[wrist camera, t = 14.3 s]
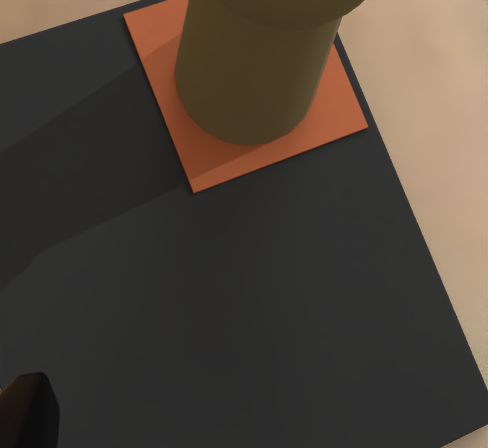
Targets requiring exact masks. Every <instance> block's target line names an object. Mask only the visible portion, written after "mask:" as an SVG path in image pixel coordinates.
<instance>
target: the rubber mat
mask: <svg viewBox="0 0 488 448" xmlns="http://www.w3.org/2000/svg"><path fill="white" fill-rule="evenodd" d="M188 1H189V0H140V1H137V2H134V3H130V4H127V5H124V6H121V7H118V8H114V9H111V10H108V11H105V12H102V13H98V14H95V15H92V16H89V17H86V18H83V19H79V20H76V21H73V22H70V23H67V24H63V25H60V26H57V27H54V28H51V29H47V30H44V31H41V32H38V33H35V34H31V35H28V36H25V37H22V38H19V39H15V40H12V41H9V42H6V43H3V44H0V387H1V389H2V392H3V390H4V389H5V388H6V387H7V386H8V385H9V384H10V383H11V382H12V380H13V379H14V378H16V377H17V376H19V375H22V374H28V373H35V372H44V373H45V374H46V375H47V376H48V378H49V381H50V384H51V386H52V389H53V391H54V394H55V396H56V399H57V401H58V404H59V409H60V423H59V434H58V445H57V448H440V447H442V446H444V445H447V444H449V443H451V442H453V441H455V440H457V439H459V438H461V437H463V436H465V435H467V434H469V433H471V432H473V431H475V430H477V429H479V428H481V427H483V426H485V425H487V424H488V390H487V387H486V385H485V383H484V380H483V378H482V376H481V373H480V371H479V368H478V366H477V364H476V361H475V359H474V356H473V354H472V352H471V349H470V347H469V345H468V342H467V340H466V337H465V335H464V333H463V330H462V328H461V325H460V323H459V321H458V318H457V316H456V314H455V311H454V309H453V306H452V304H451V302H450V299H449V297H448V295H447V292H446V290H445V287H444V285H443V283H442V280H441V278H440V275H439V273H438V271H437V268H436V266H435V264H434V261H433V259H432V256H431V254H430V252H429V249H428V247H427V244H426V242H425V240H424V237H423V235H422V233H421V230H420V228H419V225H418V223H417V221H416V218H415V216H414V213H413V211H412V209H411V206H410V204H409V202H408V199H407V197H406V194H405V192H404V190H403V187H402V185H401V183H400V180H399V178H398V175H397V173H396V171H395V168H394V166H393V163H392V161H391V159H390V156H389V154H388V152H387V149H386V147H385V144H384V142H383V140H382V137H381V135H380V132H379V130H378V128H377V125H376V123H375V121H374V118H373V116H372V113H371V111H370V109H369V106H368V104H367V101H366V99H365V97H364V94H363V92H362V90H361V87H360V85H359V82H358V80H357V78H356V75H355V73H354V71H353V68H352V66H351V63H350V61H349V59H348V56H347V54H346V51H345V49H344V47H343V44H342V42H341V40H340V37H339V35H338V32H337V33H336V36H335V39H334V42H333V45H332V48H331V51H330V54H329V57H328V60H327V63H326V66H325V69H324V71H323V74H322V77H321V80H320V83H319V86H318V89H317V92H316V95H315V98H314V100H313V102H312V104H311V106H310V108H309V110H308V112H307V114H306V116H305V118H304V119H303V120H302V121H301V122H300V123H299V124H298V125H297V126H296V127H295V128H294V129H293V130H292V131H291V132H290V133H289V134H287V135H285V136H283V137H280V138H278V139H276V140H274V141H272V142H270V143H264V144H257V145H250V146H246V145H240V144H234V143H228V142H224V141H222V140H220V139H218V138H216V137H215V136H213V135H211V134H209V133H207V132H205V131H204V130H203V129H202V128H201V127H200V126H199V125H198V124H197V123H196V122H195V121H194V120H193V119H192V118H191V117H189V116H188V114H187V112H186V110H185V108H184V106H183V104H182V102H181V101H180V99H179V97H178V94H177V88H176V82H175V76H174V70H175V64H176V58H177V52H178V47H179V43H180V38H181V33H182V29H183V24H184V20H185V15H186V10H187V6H188Z"/></svg>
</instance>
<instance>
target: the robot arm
mask: <svg viewBox="0 0 488 448" xmlns="http://www.w3.org/2000/svg"><path fill="white" fill-rule="evenodd" d="M59 423H60V409H59V404H58V401H57V399H56V396H55V394H54V391H53V389H52V386H51V384H50V381H49V378H48V376H47V375H46V374H45V373H44V372H35V373H28V374H22V375H19V376H17V377H16V378H14V379H13V380H12V382H11V383H10V384H9V385H8V386H7V387H6V388H5V389H4V390H3V392H2V393H1V394H0V448H57V445H58V434H59Z"/></svg>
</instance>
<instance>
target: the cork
mask: <svg viewBox="0 0 488 448" xmlns="http://www.w3.org/2000/svg"><path fill="white" fill-rule="evenodd" d="M363 1H364V0H189V1H188V6H187V10H186V15H185V20H184V24H183V29H182V33H181V38H180V43H179V47H178V52H177V58H176V64H175V70H174V76H175V82H176V88H177V94H178V97H179V99H180V101H181V102H182V104H183V106H184V108H185V110H186V112H187V114H188V116H189V117H191V118H192V119H193V120H194V121H195V122H196V123H197V124H198V125H199V126H200V127H201V128H202V129H203V130H204V131H205V132H207V133H209V134H211V135H213V136H215V137H216V138H218V139H220V140H222V141H224V142H228V143H234V144H240V145H246V146H250V145H257V144H264V143H270V142H272V141H274V140H276V139H278V138H280V137H283V136H285V135H287V134H289V133H290V132H291V131H292V130H293V129H294V128H295V127H296V126H297V125H298V124H299V123H300V122H301V121H302V120H303V119H304V118H305V116H306V114H307V112H308V110H309V108H310V106H311V104H312V102H313V100H314V98H315V95H316V92H317V89H318V86H319V83H320V80H321V77H322V74H323V71H324V69H325V66H326V63H327V60H328V57H329V54H330V51H331V48H332V45H333V42H334V39H335V36H336V33H337V31H338V28H339V25H340V22H341V19H342V16H344V15H346V14H348V13H349V12H350V11H352V10H353V9H355V8H356V7H357V6H359V5H360V4H361V3H362V2H363Z"/></svg>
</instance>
